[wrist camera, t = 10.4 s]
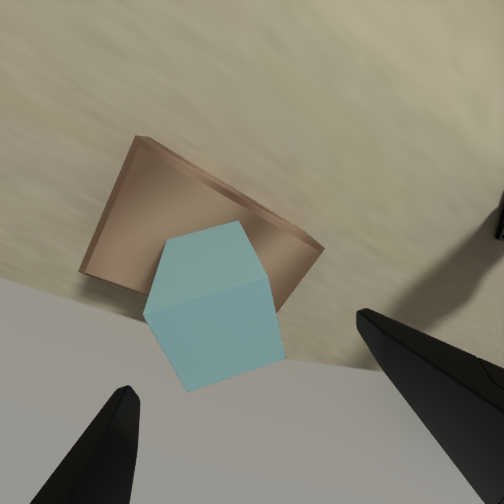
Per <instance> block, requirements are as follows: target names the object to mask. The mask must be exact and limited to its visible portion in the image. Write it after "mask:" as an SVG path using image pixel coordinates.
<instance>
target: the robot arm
mask: <svg viewBox="0 0 504 504" xmlns="http://www.w3.org/2000/svg"><path fill="white" fill-rule="evenodd" d="M496 239H498V240H501V241H503V240H504V211H503V214H502V218H501V221H500V224H499V227H498V231H497V234H496ZM356 326H357V329H358V332H359V333H360V335H361V336H362V338H363V340H364V341H365V343H366V344H367V346H368V348H369V349H370V351H371V353H372V354H373V356H374V357H375V359H376V361H377V362H378V364H379V365H380V367H381V368H382V370H383V371H384V372H385V374H386V375H387V376H388V377H389V379H390V380H391V381H392V383H393V384H394V385H395V387H396V388H397V389H398V391H399V392H400V393H401V395H402V396H403V397H404V398H405V400H406V401H407V402H408V404H409V405H410V406H411V408H412V409H413V410H414V412H415V413H416V414H417V416H418V417H419V418H420V419H421V421H422V422H423V423H424V425H425V426H426V427H427V429H428V430H429V431H430V433H431V434H432V435H433V437H434V438H435V439H436V440H437V442H438V443H439V444H440V446H441V447H442V448H443V450H444V451H445V452H446V454H447V455H448V456H449V457H450V459H451V460H452V461H453V463H454V464H455V465H456V467H457V468H458V469H459V471H460V472H461V473H462V474H463V476H464V477H465V478H466V480H467V481H468V482H469V484H470V485H471V486H472V488H473V489H474V490H475V491H476V493H477V494H478V495H479V497H480V498H481V499H482V501H483V502H484V503H485V504H504V368H502V367H499V366H497V365H495V364H492V363H490V362H488V361H486V360H483V359H481V358H477V357H476V356H474V355H472V354H470V353H467V352H465V351H463V350H461V349H458V348H456V347H454V346H452V345H449V344H447V343H445V342H443V341H440V340H438V339H436V338H434V337H431V336H429V335H427V334H425V333H422V332H420V331H418V330H416V329H413V328H411V327H409V326H407V325H404V324H402V323H400V322H398V321H395V320H393V319H391V318H389V317H386V316H384V315H382V314H380V313H377V312H375V311H373V310H371V309H368V308H364V309H361V310H358V311H357V312H356ZM139 418H140V399H139V397H138V395H137V394H136V393H135V391H134V390H133V389H132V387H130V386H129V385H127V386H124V387H121V388H118V389H117V390H116V391H115V392H114V393H113V394H112V396H111V397H110V398H109V400H108V401H107V402H106V404H105V405H104V406H103V408H102V409H101V410H100V412H99V413H98V414H97V416H96V417H95V418H94V419H93V421H92V422H91V423H90V425H89V426H88V427H87V429H86V430H85V431H84V433H83V434H82V435H81V437H80V438H79V439H78V441H77V442H76V443H75V445H74V446H73V447H72V449H71V450H70V451H69V452H68V454H67V455H66V456H65V458H64V459H63V460H62V462H61V463H60V464H59V466H58V467H57V468H56V470H55V471H54V472H53V473H52V475H51V476H50V477H49V479H48V480H47V482H46V483H45V484H44V485H43V487H42V488H41V489H40V491H39V492H38V493H37V495H36V496H35V497H34V499H33V500H32V501H31V502H30V504H129V503H130V496H131V490H132V484H133V477H134V471H135V465H136V458H137V450H138V435H139V434H138V433H139Z"/></svg>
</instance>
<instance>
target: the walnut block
mask: <svg viewBox="0 0 504 504" xmlns="http://www.w3.org/2000/svg"><path fill="white" fill-rule="evenodd" d="M238 220H239V222H240V224H241V226H242V228H243V230H244V231H245V233H246V235H247V237H248V239H249V241H250V243H251V245H252V247H253V249H254V251H255V253H256V255H257V256H258V258H259V260H260V262H261V264H262V266H263V268H264V270H265V272H266V274H267V276H268V279H269V283H270V288H271V293H272V297H273V302H274V307H275V311H276V313H277V312H278V311H279V309H280V308H281V306H282V305H283V304H284V302H285V301H286V300H287V298H288V297H289V296H290V294H291V293H292V292H293V290H294V289H295V288H296V286H297V285H298V284H299V282H300V281H301V280H302V278H303V277H304V276H305V274H306V273H307V272H308V270H309V269H310V268H311V266H312V265H313V264H314V262H315V261H316V260H317V258H318V257H319V256H320V254H321V253H322V252H323V250H324V249H325V248H324V247H323V246H322V245H320V244H319V243H318V242H317V241H316V240H314V239H313V238H312V237H311V236H310V235H308V234H307V233H306V232H305V231H303V230H301V229H300V228H298V227H296V226H295V225H293V224H291V223H290V222H288V221H286V220H285V219H283V218H281V217H280V216H278V215H277V214H275V213H273V212H272V211H270V210H268V209H267V208H265V207H263V206H262V205H260V204H258V203H257V202H255V201H253V200H252V199H250V198H248V197H247V196H245V195H244V194H242V193H240V192H239V191H237V190H235V189H234V188H232V187H230V186H229V185H227V184H225V183H224V182H222V181H220V180H219V179H217V178H216V177H214V176H212V175H211V174H209V173H207V172H206V171H204V170H202V169H201V168H199V167H197V166H196V165H194V164H192V163H191V162H189V161H187V160H186V159H184V158H183V157H181V156H179V155H178V154H176V153H174V152H173V151H171V150H169V149H168V148H166V147H164V146H163V145H161V144H159V143H158V142H156V141H155V140H153V139H151V138H150V137H145V136H135V138H134V140H133V143H132V145H131V147H130V150H129V152H128V155H127V157H126V159H125V162H124V164H123V166H122V169H121V171H120V174H119V176H118V178H117V181H116V183H115V185H114V188H113V190H112V193H111V195H110V197H109V200H108V202H107V204H106V207H105V209H104V211H103V214H102V216H101V219H100V221H99V223H98V226H97V228H96V230H95V233H94V235H93V238H92V240H91V242H90V245H89V247H88V249H87V252H86V254H85V257H84V259H83V261H82V264H81V266H80V268H79V271H78V272H80V273H83V274H86V275H89V276H92V277H95V278H97V279H100V280H103V281H106V282H109V283H112V284H115V285H118V286H121V287H124V288H127V289H130V290H133V291H136V292H139V293H142V294H145V295H147V296H149V294H150V291H151V288H152V284H153V281H154V278H155V275H156V272H157V269H158V266H159V263H160V260H161V256H162V253H163V250H164V247H165V244H166V241H167V240H168V239H172V238H176V237H179V236H183V235H187V234H190V233H194V232H198V231H201V230H205V229H208V228H212V227H216V226H219V225H223V224H227V223H230V222H234V221H238Z"/></svg>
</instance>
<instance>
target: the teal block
mask: <svg viewBox="0 0 504 504" xmlns="http://www.w3.org/2000/svg"><path fill="white" fill-rule="evenodd" d="M143 316H144V318H145V320H146V321H147V323H148V325H149V327H150V328H151V330H152V332H153V334H154V335H155V337H156V339H157V341H158V342H159V344H160V346H161V348H162V349H163V351H164V353H165V355H166V356H167V358H168V360H169V362H170V363H171V365H172V367H173V369H174V370H175V372H176V374H177V376H178V378H179V379H180V381H181V383H182V384H183V386H184V388H185V390H186V392H189V391H192V390H195V389H198V388H201V387H204V386H207V385H210V384H213V383H216V382H219V381H222V380H224V379H228V378H231V377H234V376H237V375H240V374H242V373H246V372H248V371H252V370H255V369H257V368H260V367H263V366H266V365H269V364H272V363H275V362H278V361H281V360H284V359H286V358H285V353H284V349H283V344H282V339H281V335H280V330H279V325H278V321H277V316H276V311H275V307H274V302H273V297H272V293H271V288H270V283H269V279H268V276H267V274H266V272H265V270H264V268H263V266H262V264H261V262H260V260H259V258H258V256H257V255H256V253H255V251H254V249H253V247H252V245H251V243H250V241H249V239H248V237H247V235H246V233H245V231H244V230H243V228H242V226H241V224H240V222H239V220H238V221H234V222H230V223H227V224H223V225H219V226H216V227H212V228H208V229H205V230H201V231H198V232H194V233H190V234H187V235H183V236H179V237H176V238H172V239H168V240H167V241H166V244H165V247H164V250H163V253H162V256H161V260H160V263H159V266H158V269H157V272H156V275H155V278H154V281H153V284H152V288H151V291H150V294H149V297H148V300H147V303H146V306H145V309H144V312H143Z"/></svg>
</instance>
